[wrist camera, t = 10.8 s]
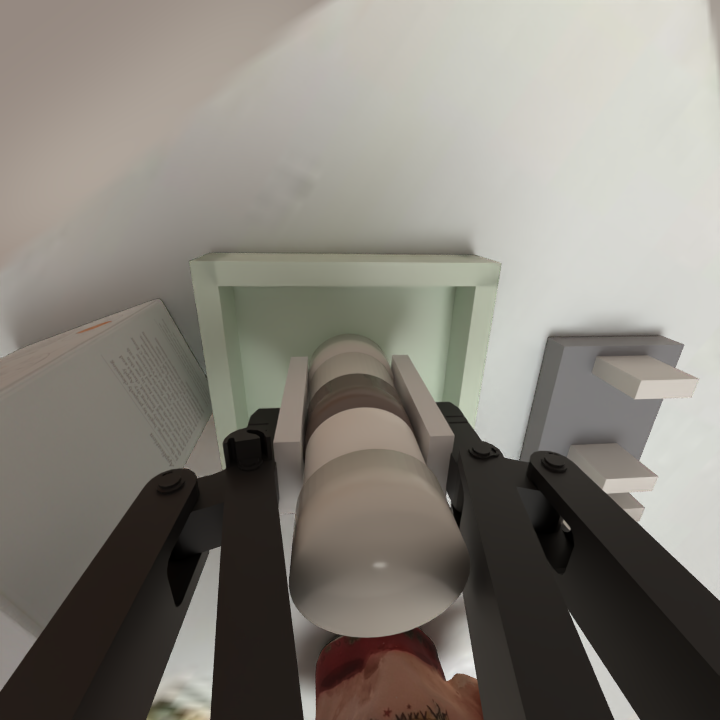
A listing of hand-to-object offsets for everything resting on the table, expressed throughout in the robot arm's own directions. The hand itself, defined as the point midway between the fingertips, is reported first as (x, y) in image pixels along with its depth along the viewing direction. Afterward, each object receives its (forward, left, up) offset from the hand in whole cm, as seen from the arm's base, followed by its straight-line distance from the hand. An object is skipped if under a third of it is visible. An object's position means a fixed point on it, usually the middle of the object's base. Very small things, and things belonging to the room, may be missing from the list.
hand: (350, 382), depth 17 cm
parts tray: (0, 0, -3) cm, 3 cm away
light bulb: (0, 0, -1) cm, 1 cm away
